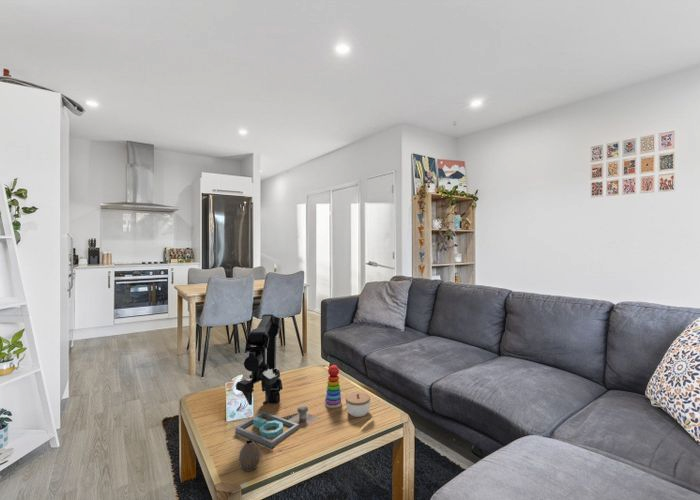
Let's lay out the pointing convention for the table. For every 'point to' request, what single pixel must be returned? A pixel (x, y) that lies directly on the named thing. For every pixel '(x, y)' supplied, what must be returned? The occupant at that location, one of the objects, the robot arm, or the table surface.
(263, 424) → the ring
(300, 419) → the ring
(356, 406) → the lidded jar
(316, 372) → the table surface
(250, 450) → the vase
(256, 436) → the tray
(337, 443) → the table surface
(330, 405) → the stacking toy
